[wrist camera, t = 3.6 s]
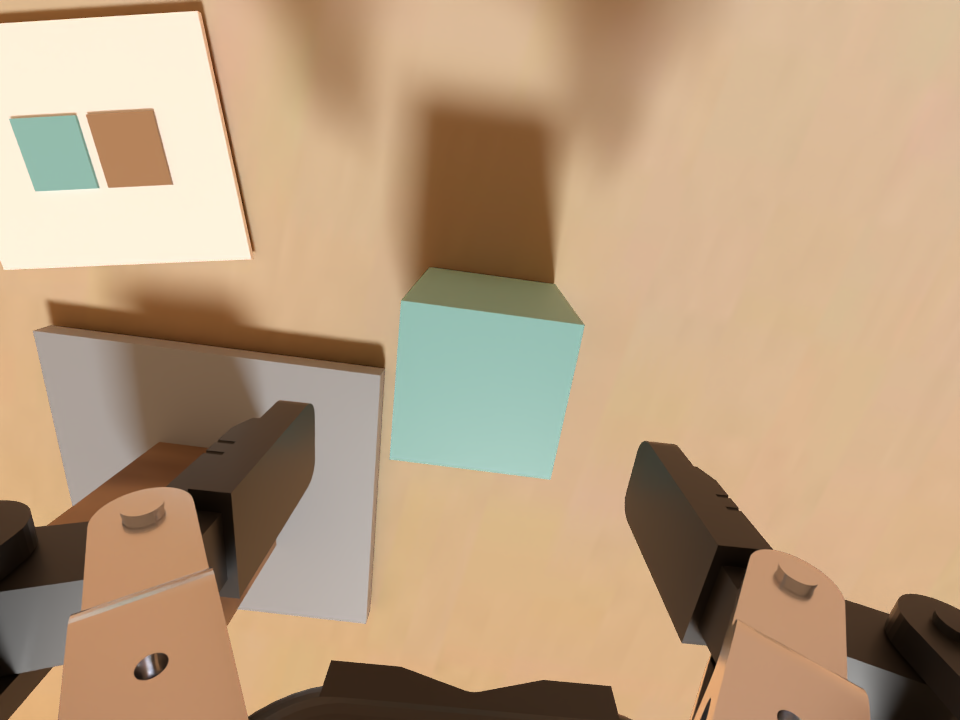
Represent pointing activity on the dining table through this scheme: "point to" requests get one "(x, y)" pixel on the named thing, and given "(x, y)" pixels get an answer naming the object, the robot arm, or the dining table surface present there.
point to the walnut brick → (144, 474)
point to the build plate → (208, 416)
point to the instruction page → (114, 145)
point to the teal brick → (483, 373)
